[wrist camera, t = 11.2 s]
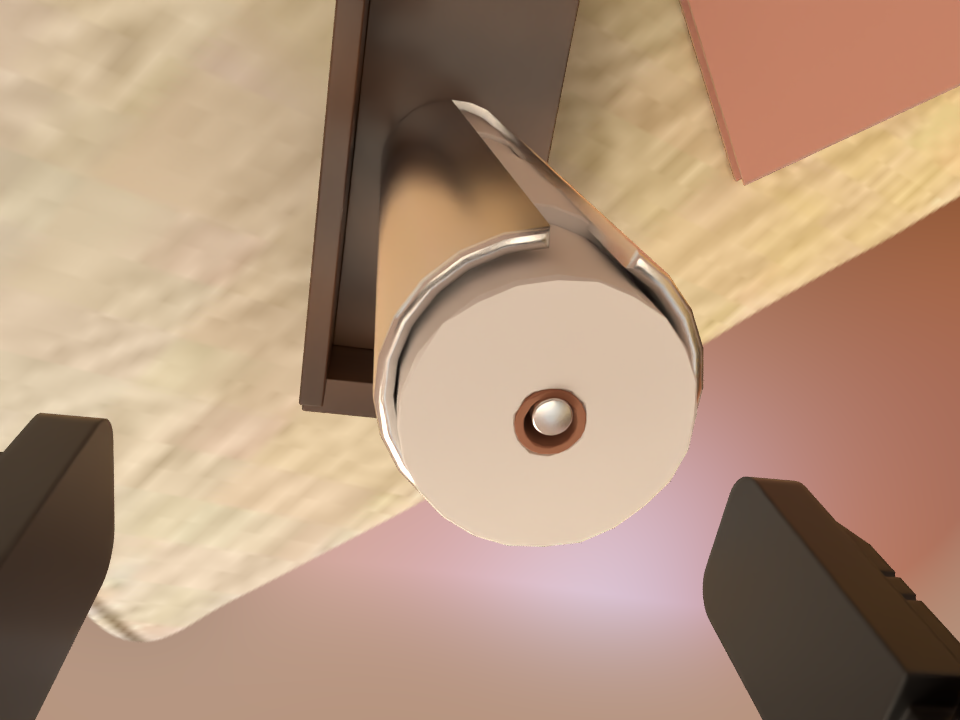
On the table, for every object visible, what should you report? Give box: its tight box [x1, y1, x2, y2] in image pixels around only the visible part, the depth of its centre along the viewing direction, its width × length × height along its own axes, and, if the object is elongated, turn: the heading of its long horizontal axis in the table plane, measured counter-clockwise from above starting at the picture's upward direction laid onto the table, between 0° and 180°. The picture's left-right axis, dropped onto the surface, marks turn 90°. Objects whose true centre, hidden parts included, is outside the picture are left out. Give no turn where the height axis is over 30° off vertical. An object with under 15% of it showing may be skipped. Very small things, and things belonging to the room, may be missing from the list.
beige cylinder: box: [373, 100, 703, 547], centre depth 26 cm, size 6×6×25 cm
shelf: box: [299, 0, 579, 418], centre depth 38 cm, size 22×10×16 cm, turn 170°
